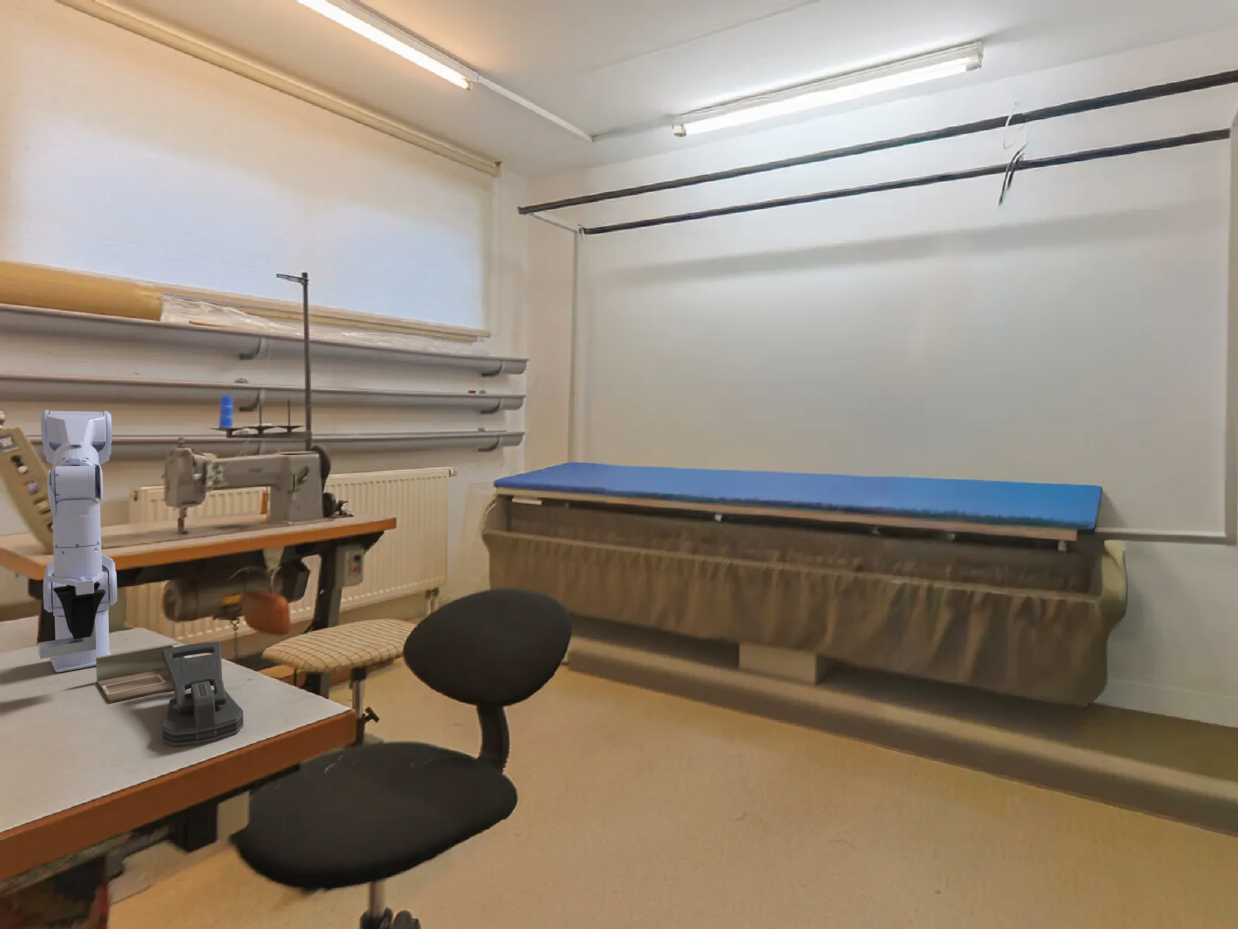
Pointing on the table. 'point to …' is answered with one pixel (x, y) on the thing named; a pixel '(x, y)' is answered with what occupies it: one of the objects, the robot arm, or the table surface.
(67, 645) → the angle bracket
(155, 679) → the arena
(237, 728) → the zipper pull
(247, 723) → the table surface
